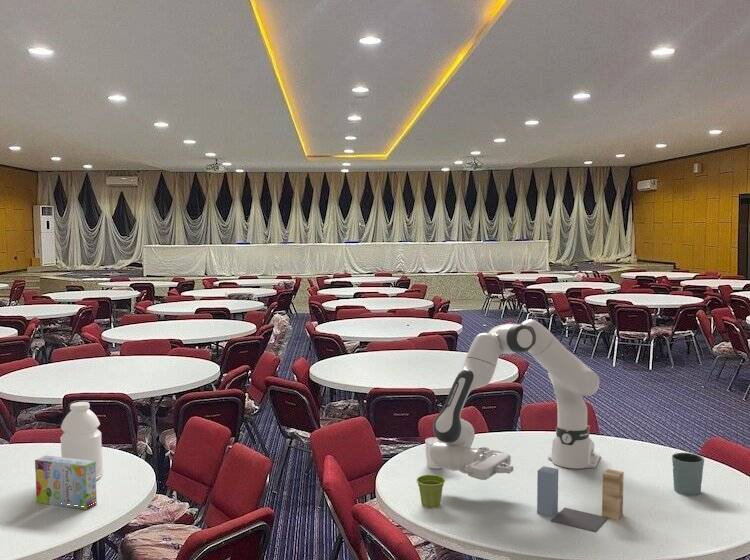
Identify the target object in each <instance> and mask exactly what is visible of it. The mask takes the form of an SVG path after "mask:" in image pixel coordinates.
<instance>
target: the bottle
mask: <svg viewBox="0 0 750 560" xmlns="http://www.w3.org/2000/svg"><path fill="white" fill-rule="evenodd" d="M90 408H91V405H90V402H87V401H79V402H77V401H76V402H73V403H71V404H70V405H69V410H70V411H69V412H68V413H67V414H66V416H65V417H64V419H63V420H62V422H61V426H60V429H61V430H62V431H63V433H62V435H61V436H60V439H59V440H60V451H61V454H60V455H61V456H60V457H64V458H72V459H81V460H89V461H96V477H98V476H100V475H101V476H100V477H98V478H96V481H99V480H101V478H102V477H103V474H104V470H103V451H102V449H103V447H102V445H103V444H102V443H103V442H102V432H101V431H100V430H99V429H98V428H99V427H100V425H101V423H100V419H99V418H98V417H97V415H96V414H95V413H94V412H93V410H91V409H90ZM102 473H103V474H102Z"/></svg>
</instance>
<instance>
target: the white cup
mask: <svg viewBox="0 0 750 560" xmlns="http://www.w3.org/2000/svg"><path fill="white" fill-rule="evenodd" d="M424 440H425V441H424V442H425V446H424V447H425V456H426V457H425V458H426V467H428V468H430V469H433V470H434V469H435V470H437V469H442V468H441V467H439V466H437V465H435V464H434V463H433V461H432V459H431V454H430V451H431V447H432V445H433V444H434V443H435V442H437V441H438V439H437V438H436V437H435V436H433V437H427V438H426V439H424Z"/></svg>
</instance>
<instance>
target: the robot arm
mask: <svg viewBox="0 0 750 560" xmlns="http://www.w3.org/2000/svg"><path fill="white" fill-rule="evenodd" d="M526 352H528V354H530V356H532V358H534V359H535V361H536V362H537V363H538V364H539V365H540V366H541V367H542V368H543V369H545V370H546V371H547V374H548V379H549V380H550V382H551V384H552V387H553V388H552V389H553V391H554V396H555V399H556V407H557V425H556V428H555V435H556V436H555V437H554V438H552V444H551V454H549V455H548V457H547V459H548V460H549V461H552V463H553V464H555V465H556V466H559V467H562V468H567V469H577V470H578V469H586V468H587V469H590V468H591V469H592V468H594V469H595V468H597V465H598V463H599V460H600V459H601V454H600V453H598V452H596V451H595V442H594V441H593V440H592V439H591V438H590V430H591V425H590V424H589V425H588V407H587V405H586V402H585V400H584V398H583V396H584V397H588V396H592V395H594V394H596V392H597V391H598V390H599V388H600V378H599V375H598V374H597V373H596V372H595V371H593V370H592V368H590V367H589V366H587V364H585V363H584V362H583V361H582V360H581V359H580V358H578V357H577V356H576V355H575V354H573V352H571V351H570V350H569V349H568V348H566V347H565V346H564V345H563V344H562V343H561V342H560V341H559V340H558V338H556V337H555V336H554V335H553V333H552V332H550V330H549V329H547V327H545V326H544V325H543V324H542V323H540V322H539V321H537V320H535V319H532V318H529V319H528V318H527V319H525V320H524V321H522V322H521V323H504V324H497V325H493V326H491V327H489V328H488V329H487V330H486V331H485V332H481V333H478V334H477V335H476V336H475V337H474V339H473V341H472V343H471V344H470V346H469V349H468V352H467V354H466V358H465V361H464V363H463V366H462V368H461V370H460V372H459V373H458V374H457V376H456V378H455V379H454V382H453V384H452V386H451V389H450V390H449V393H448V395H447V398H446V400H445V402H444V404H443V407H442V408H441V410H440V411H439V413H438V414H437V415H436V416H435V418H434V420H433V423H432V432H433V435H434V437H436V438H437V439H438V441H437V442H435V443H434V444H433V445H432V447H431V451H430V454H431V459H432V461H433V463H434V464H435V465H437V466H439V467H441V468H440V469H444V470H448V471H453V472H454V471H456V472H457V471H458V472H460V473H462V474H466V475H467V476H468V477H471V478H473V479H476V480H480V481H487V480H488V479H490V478H491V477H493V476H494V475H496V474H508V475H509V474H511V473H513V472H514V466H513V465H511V463H512V462H511V460H512V457H511V454H509V453H507V452H504V451H499V450H496V449H490V447H487V446H482V447H472V445H473V442H474V439H475V436H476V432H475V429H474V426H473V424H471V423H470V422H469V421H467V420H465V419H463V418H461V416H462V412H463V409H464V406H465V404H466V401H467V398H468V397H469V395H470V394H471V392H472V391H474V390H475V389H479V388H483V387H485V386H487V385H489V384H490V382H491V380H492V379H493V376H494V374H495V372H496V368H497V364H498V359H499V358H500V356H501V355H502V354H504V355H513V354H514V355H515V354H522V353H523V354H524V353H526Z"/></svg>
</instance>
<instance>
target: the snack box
mask: <svg viewBox="0 0 750 560" xmlns="http://www.w3.org/2000/svg"><path fill="white" fill-rule="evenodd" d="M34 465H35V468H34V469H35V495H36V498H35V499H36V503H37V504H38V503H39V504H46V505H52V506H59V507H65V508H73V509H79V510H89V509H90V508H93V507H96V506H97V505H98V504H97V480H96V461H89V460H81V459H72V458H64V457H62V456H55V455H47V454H46V455H44V456H42V457H39V458H37V459H36V458H35V460H34ZM95 502H96V503H95ZM61 503H62V504H61ZM93 503H94V504H93ZM67 504H70V505H67ZM91 504H92V505H91ZM74 505H78V506H74ZM89 505H90V506H89ZM81 506H84V507H81Z"/></svg>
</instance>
